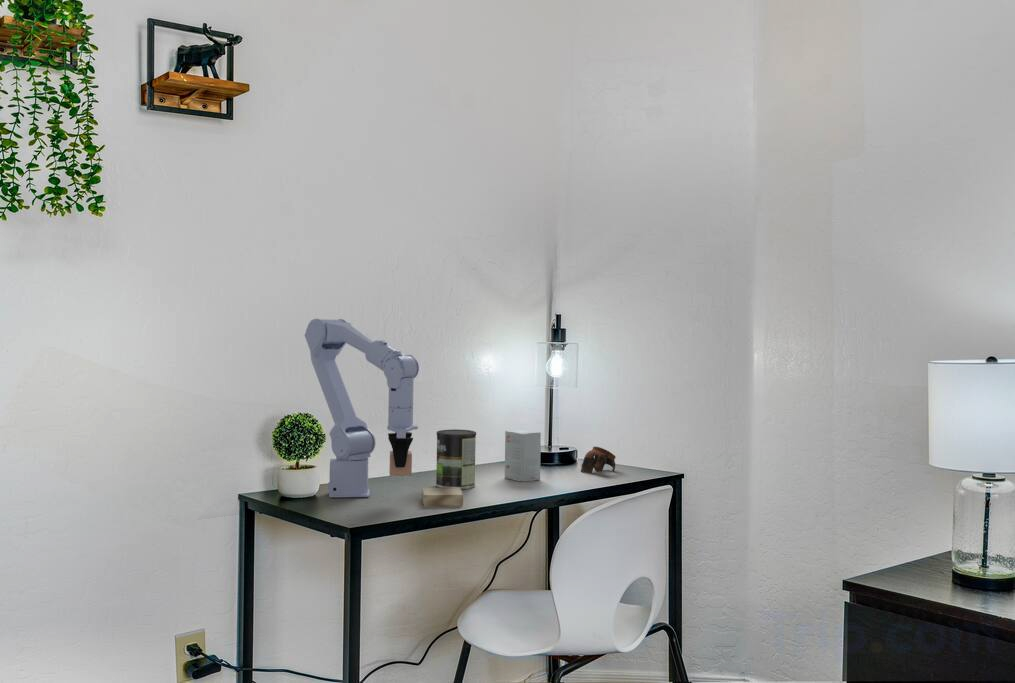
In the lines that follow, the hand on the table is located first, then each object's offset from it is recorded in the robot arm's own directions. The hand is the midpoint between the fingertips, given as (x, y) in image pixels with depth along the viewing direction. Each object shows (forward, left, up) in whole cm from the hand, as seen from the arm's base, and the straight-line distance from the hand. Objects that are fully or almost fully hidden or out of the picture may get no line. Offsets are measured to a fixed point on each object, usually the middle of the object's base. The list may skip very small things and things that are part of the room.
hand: (399, 465), depth 203 cm
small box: (+34, +29, -9) cm, 46 cm away
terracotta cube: (0, 0, -2) cm, 2 cm away
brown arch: (+58, +39, -9) cm, 70 cm away
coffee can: (+15, +20, -9) cm, 26 cm away
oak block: (+10, 0, -9) cm, 14 cm away
